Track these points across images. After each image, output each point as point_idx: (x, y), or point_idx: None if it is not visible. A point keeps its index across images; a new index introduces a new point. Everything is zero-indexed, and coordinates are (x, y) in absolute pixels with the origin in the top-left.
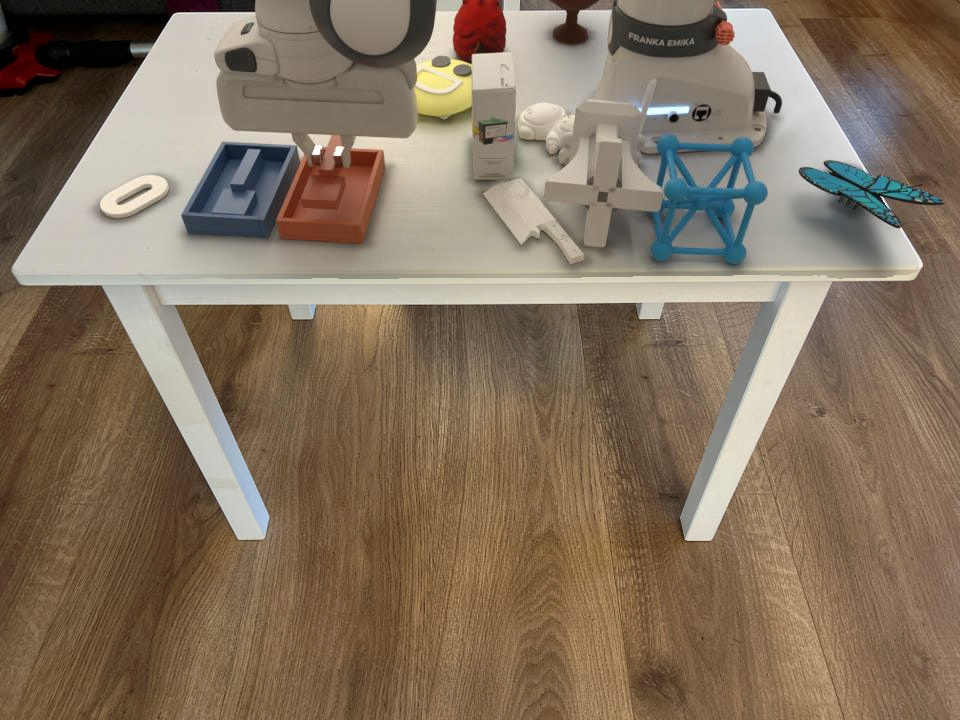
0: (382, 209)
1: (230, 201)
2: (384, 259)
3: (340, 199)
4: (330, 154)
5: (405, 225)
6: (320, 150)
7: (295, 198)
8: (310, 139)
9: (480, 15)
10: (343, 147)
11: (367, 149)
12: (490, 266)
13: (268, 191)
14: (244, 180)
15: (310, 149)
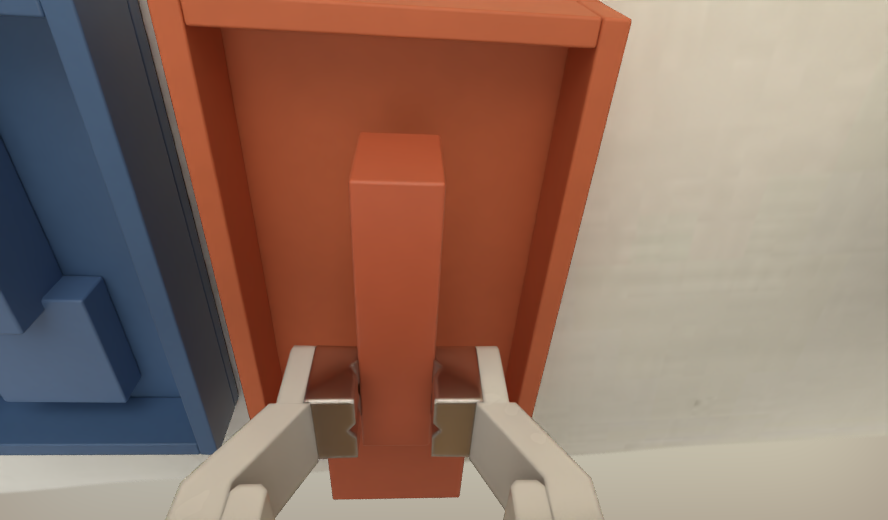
0: (570, 272)
1: (29, 356)
2: (569, 432)
3: None
4: (393, 362)
5: (638, 332)
6: (352, 426)
7: (260, 315)
8: (280, 440)
9: None
10: (484, 440)
11: (537, 23)
12: (820, 433)
13: (114, 232)
14: (7, 313)
15: (306, 465)
